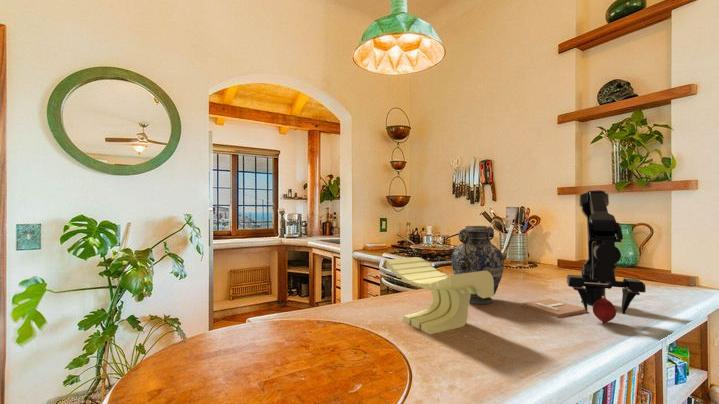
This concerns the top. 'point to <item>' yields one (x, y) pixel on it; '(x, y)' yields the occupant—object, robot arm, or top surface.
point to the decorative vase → (478, 257)
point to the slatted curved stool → (441, 293)
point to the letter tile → (554, 307)
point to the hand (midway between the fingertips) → (604, 311)
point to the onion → (604, 310)
